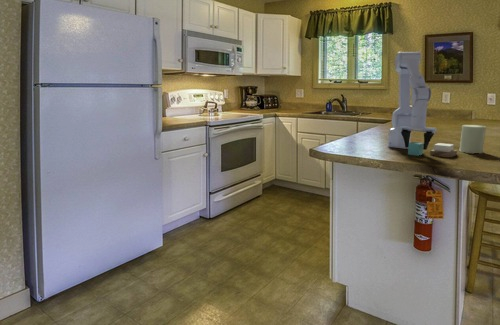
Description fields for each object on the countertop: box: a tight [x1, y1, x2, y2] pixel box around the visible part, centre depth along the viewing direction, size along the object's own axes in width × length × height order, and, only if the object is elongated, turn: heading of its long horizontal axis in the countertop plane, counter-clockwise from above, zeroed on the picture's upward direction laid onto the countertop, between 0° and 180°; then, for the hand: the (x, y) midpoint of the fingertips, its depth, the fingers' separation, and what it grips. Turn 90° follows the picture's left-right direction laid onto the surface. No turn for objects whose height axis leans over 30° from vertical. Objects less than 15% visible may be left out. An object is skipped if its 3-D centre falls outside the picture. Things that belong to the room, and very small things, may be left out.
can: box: [459, 124, 487, 154], centre depth 163 cm, size 9×9×12 cm
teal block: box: [407, 141, 424, 157], centre depth 158 cm, size 4×4×5 cm
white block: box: [433, 142, 455, 152], centre depth 156 cm, size 6×6×2 cm
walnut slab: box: [429, 149, 458, 158], centre depth 157 cm, size 8×8×2 cm
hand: (415, 148), depth 158 cm, fingers open, 7 cm apart
